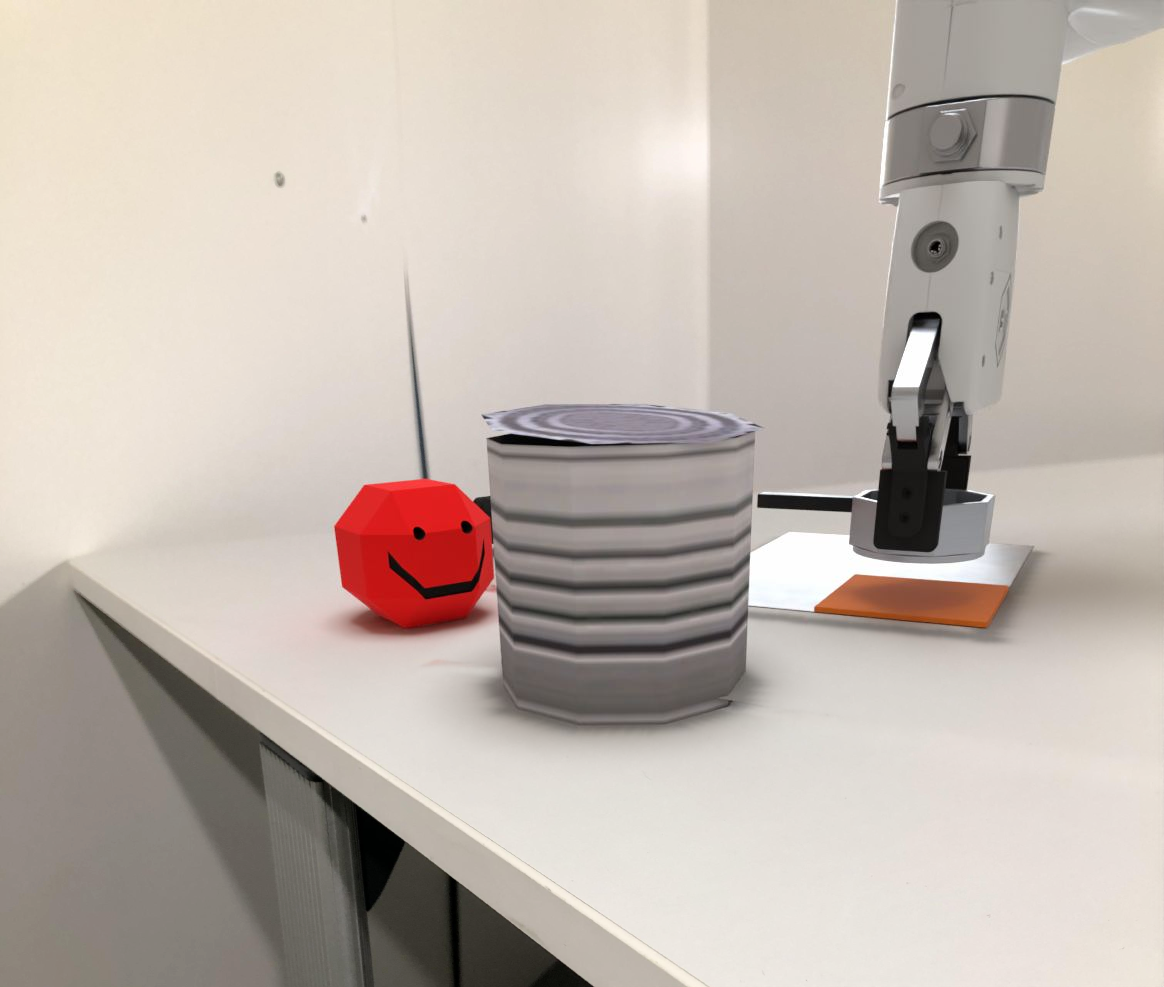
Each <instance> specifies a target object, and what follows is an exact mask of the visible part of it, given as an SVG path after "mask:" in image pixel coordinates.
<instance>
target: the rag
mask: <svg viewBox="0 0 1164 987" xmlns="http://www.w3.org/2000/svg"><path fill="white" fill-rule="evenodd" d="M1008 590H1009V591H1010V589H1009V586H1008V585H995V584H981V583H968V582H954V581H941V580H927V579H914V578H900V577H887V576H873V575H860V574H855V575H854V576H852V577H851V578H850V579H849V580H847V581H846V582H845V583H843V584H842V585H841V586H840V587H838V588H837V589H836V590H835V591H833V592H832V593H831V594H830V595H828V596H827V597H826V598H825V599H823V600H822V601H821V602H820V603H818V604H817V605H816V606H815V607H814V612H823V613H834V614H844V615H855V616H866V617H876V618H887V619H898V620H909V621H919V622H930V623H941V624H951V625H962V626H973V627H983V628H988V627H989V626H990V624H991V622H992V620H993V619H994V617H995V615H996V614H995V612H996V611H997V612H998V610H999V608H1000V607H999V606H1001V605H1002V603H1003V601H1004V600H1003V599H1005V598H1006V596H1007V594H1008V593H1007V592H1009V591H1008ZM1006 593H1007V594H1006ZM1005 595H1006V596H1005ZM1004 597H1005V598H1004ZM1002 600H1003V601H1002ZM1001 602H1002V603H1001ZM1000 604H1001V605H1000ZM998 607H999V608H998ZM997 609H998V610H997ZM997 612H996V613H997ZM823 613H822V614H823ZM994 614H995V615H994ZM844 615H843V616H844ZM855 616H854V617H855ZM993 616H994V617H993ZM876 618H875V619H876ZM992 618H993V619H992ZM887 619H886V620H887ZM991 619H992V620H991ZM990 621H991V622H990ZM919 622H918V623H919ZM989 623H990V624H989ZM988 625H989V626H988ZM987 626H988V627H987Z"/></svg>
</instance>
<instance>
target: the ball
mask: <svg viewBox="0 0 1164 987" xmlns="http://www.w3.org/2000/svg"><path fill="white" fill-rule="evenodd" d="M473 501H474V500H472V499H471V498H470V497H469V496H468V495H467V494H466V493H465V492H464V491H463V490H462V489H461V488H460V487H459V486H457V484H456V483H451V482H447V481H440V480H434V479H429V478H418V479H417V478H416V479H409V480H399V481H389V482H378V483H369V484H368V483H367V484H363V486H362V487H361V488H360V490H359V491H358V493H357V494H356V495H355V497H354V498H353V499H352V501H351V502H350V503H349V505H348V507H346V509H345V511H344V512H343V513H342V514H341V515H340V517H339V519H338V520H337V521H336V523H335V524H334V525H333V529H334V536H335V543H336V544H335V545H336V550H337V558H338V566H339V574H340V581H341V588H343V589H344V590H346V592H348V593H349V594H350V595H351V596H353V597H355V599H357V600H358V601H360V602H361V603H362V604H364V605H365V606H366V607H367V608H369V610H371V611H372V612H373V613H375V615H377V616H379V617H381V618H382V619H385V620H387V621H388V622H391V623H393V624H395V625H397V626H399V627H401V628H403V629H405V630H407V629H412V628H413V629H414V628H417V627H424V626H428V625H429V626H430V625H434V624H439V623H440V624H441V623H444V622H450V621H456V620H462V619H466V618H467V617H468V615H469V614H470V613H471V612H472V610H473V608H474V607H475V606H476V605H477V603H478V601H479V600H480V599H481V597H482V596H483V594H485V592H486V591H487V589H488V588H489V586H490V585H491V583H492V582H493V581H494V580H495V570H494V569H495V566H494V555H493V554H494V551H493V544H492V537H491V522H490V517H489V516H487V515H486V514H485V513H484V512H483V511H482V510H481V509H480V508H479V507H478V506H477V505H476V504H475V503H474V502H473Z"/></svg>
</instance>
